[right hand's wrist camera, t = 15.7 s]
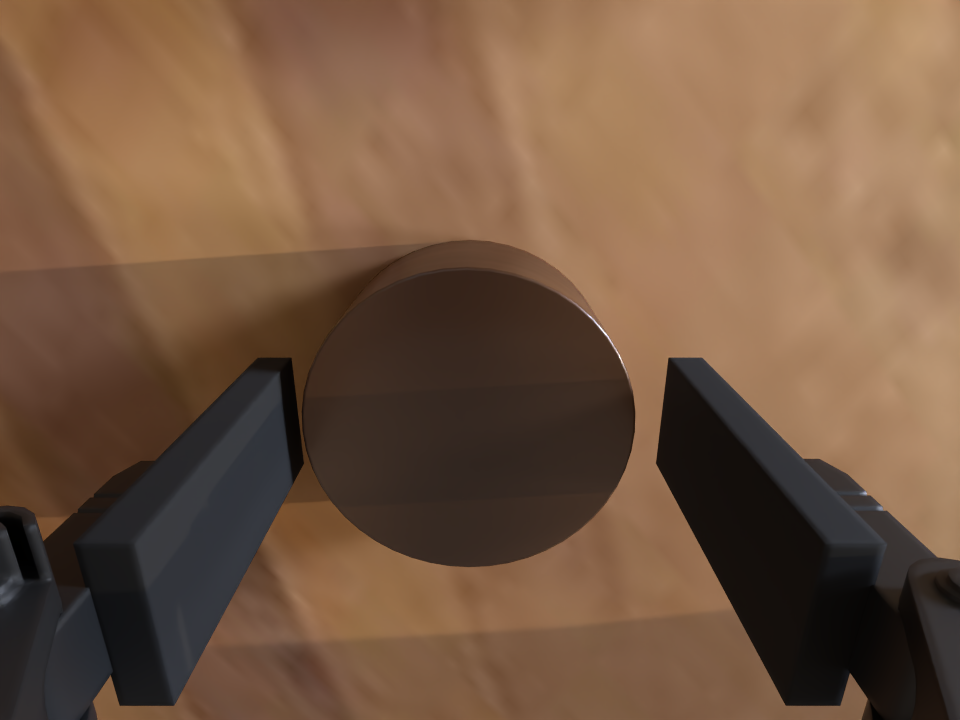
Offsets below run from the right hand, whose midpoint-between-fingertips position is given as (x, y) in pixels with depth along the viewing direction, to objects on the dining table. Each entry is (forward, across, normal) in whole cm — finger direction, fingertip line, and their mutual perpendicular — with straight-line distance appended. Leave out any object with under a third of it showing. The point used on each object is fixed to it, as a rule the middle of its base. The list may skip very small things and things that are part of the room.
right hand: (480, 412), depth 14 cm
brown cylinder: (+3, 0, 0) cm, 3 cm away
